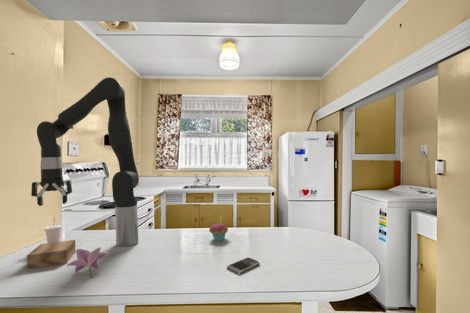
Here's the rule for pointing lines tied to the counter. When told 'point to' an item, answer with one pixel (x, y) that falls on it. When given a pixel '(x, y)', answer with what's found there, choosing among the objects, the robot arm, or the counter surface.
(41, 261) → the walnut block
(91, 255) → the lily
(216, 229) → the cupcake
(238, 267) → the cell phone
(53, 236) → the smoothie
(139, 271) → the counter surface
